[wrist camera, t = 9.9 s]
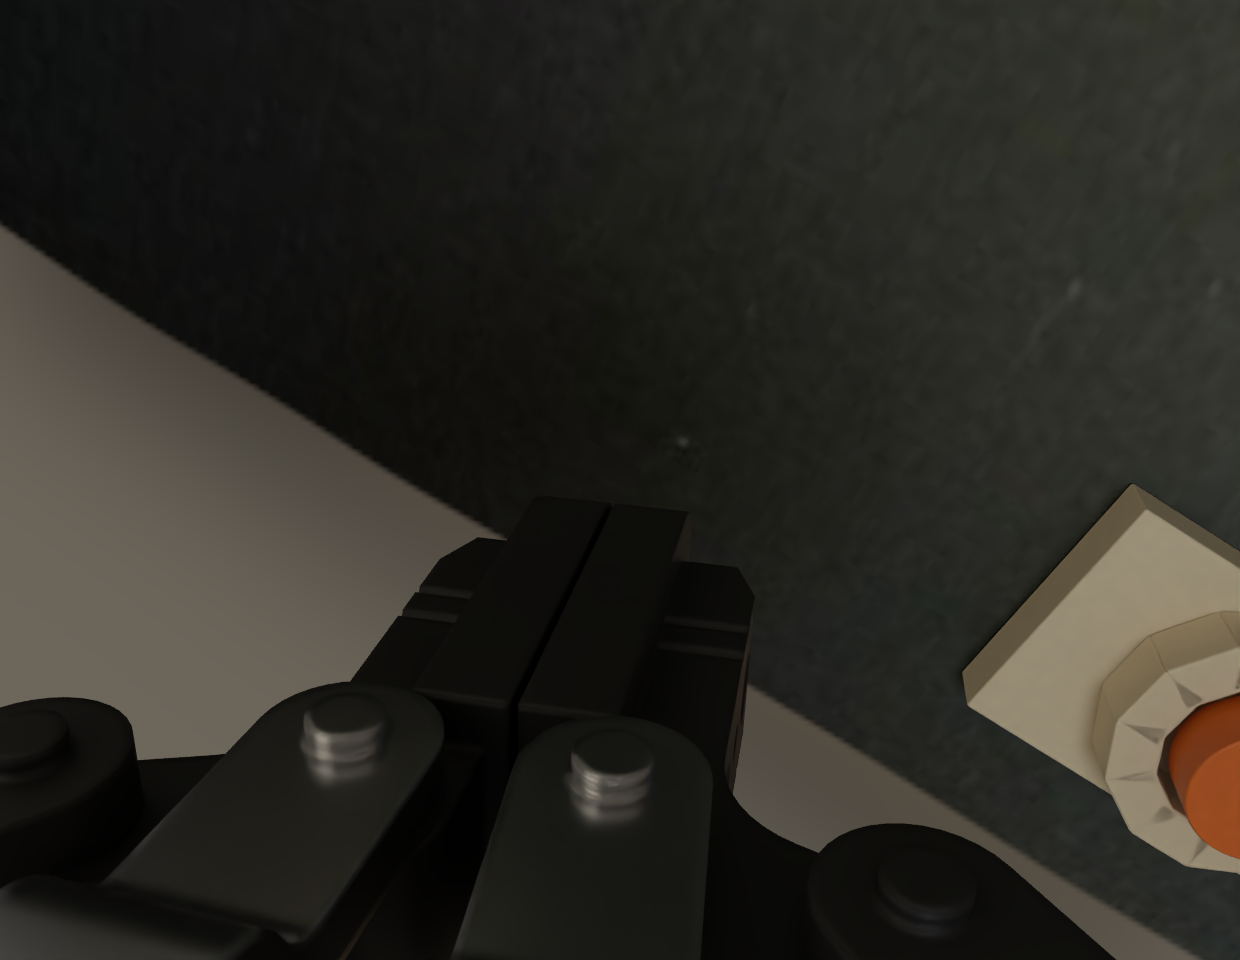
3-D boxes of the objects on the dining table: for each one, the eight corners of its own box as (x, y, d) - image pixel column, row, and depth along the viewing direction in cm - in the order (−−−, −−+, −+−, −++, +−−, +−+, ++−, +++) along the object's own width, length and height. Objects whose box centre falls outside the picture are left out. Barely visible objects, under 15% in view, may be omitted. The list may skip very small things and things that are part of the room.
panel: (961, 671, 33) (972, 745, 30) (1131, 481, 30) (1164, 541, 27) (1283, 872, 34) (1327, 965, 30) (1481, 705, 31) (1553, 789, 27)
